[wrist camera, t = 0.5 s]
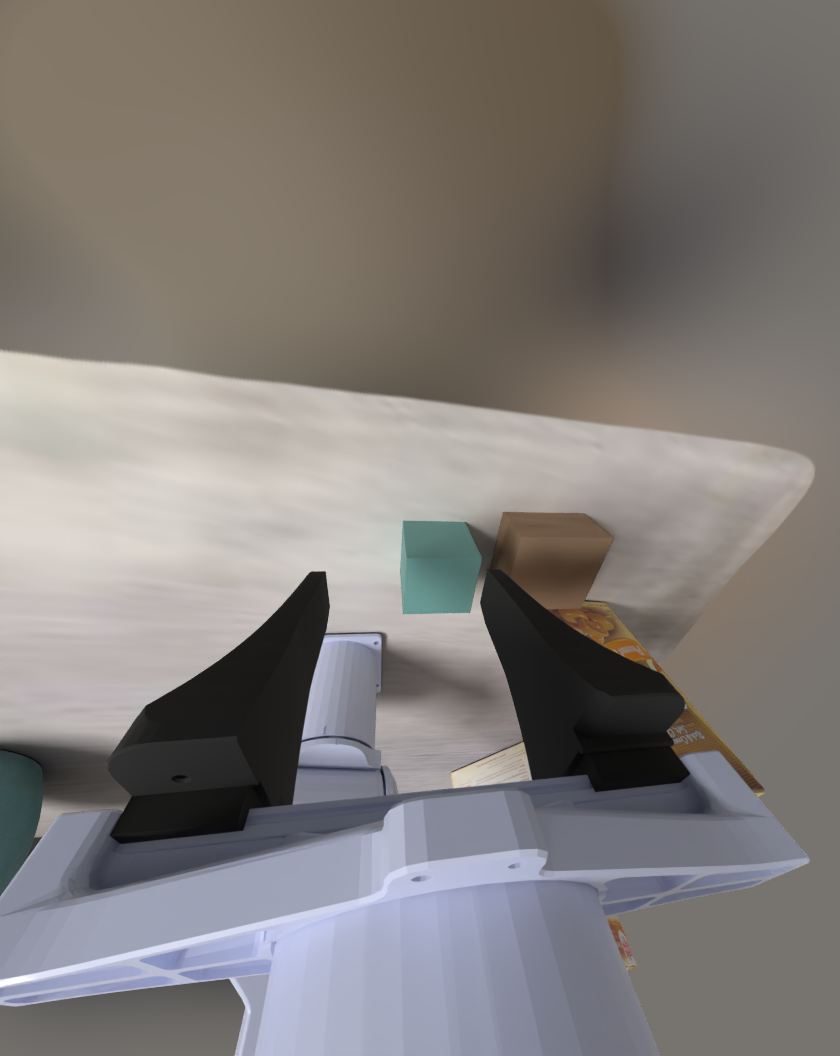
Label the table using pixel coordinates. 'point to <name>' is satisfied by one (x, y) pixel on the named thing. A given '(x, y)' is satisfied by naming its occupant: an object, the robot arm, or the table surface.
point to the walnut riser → (551, 555)
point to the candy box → (614, 635)
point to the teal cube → (438, 567)
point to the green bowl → (17, 811)
